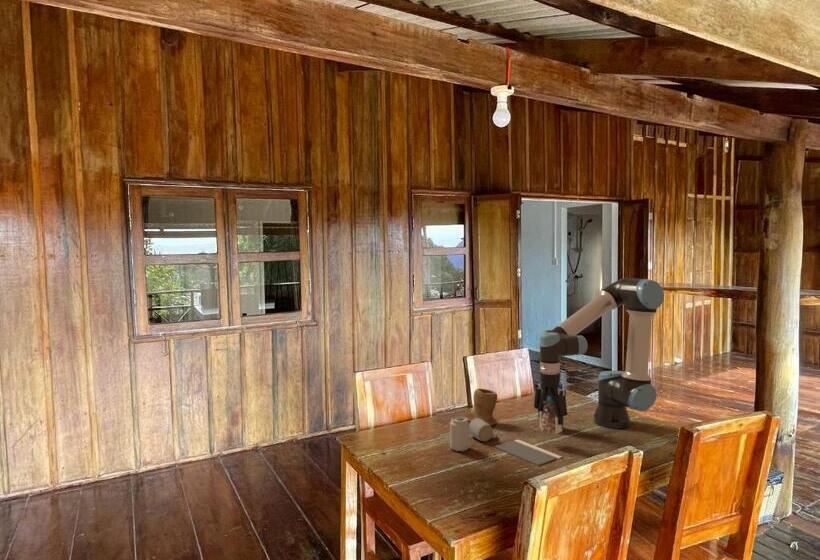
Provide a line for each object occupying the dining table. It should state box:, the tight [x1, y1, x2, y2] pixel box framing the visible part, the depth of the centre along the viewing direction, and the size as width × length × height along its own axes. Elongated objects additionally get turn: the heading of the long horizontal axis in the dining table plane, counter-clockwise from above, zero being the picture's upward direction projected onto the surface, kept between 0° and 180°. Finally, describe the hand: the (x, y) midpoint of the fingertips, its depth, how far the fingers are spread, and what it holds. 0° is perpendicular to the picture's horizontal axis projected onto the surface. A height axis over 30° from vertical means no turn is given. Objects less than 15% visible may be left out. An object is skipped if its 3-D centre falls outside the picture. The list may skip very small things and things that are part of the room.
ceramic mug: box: [469, 418, 497, 443], centre depth 219 cm, size 11×8×8 cm
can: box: [449, 416, 470, 452], centre depth 208 cm, size 8×8×12 cm
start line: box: [513, 439, 562, 460], centre depth 207 cm, size 2×22×1 cm, turn 35°
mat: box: [494, 440, 558, 467], centre depth 203 cm, size 10×22×1 cm, turn 35°
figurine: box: [540, 401, 559, 435], centre depth 211 cm, size 7×7×12 cm
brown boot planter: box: [459, 388, 498, 426], centre depth 239 cm, size 15×12×15 cm
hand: (550, 429), depth 211 cm, fingers closed on figurine, 7 cm apart
